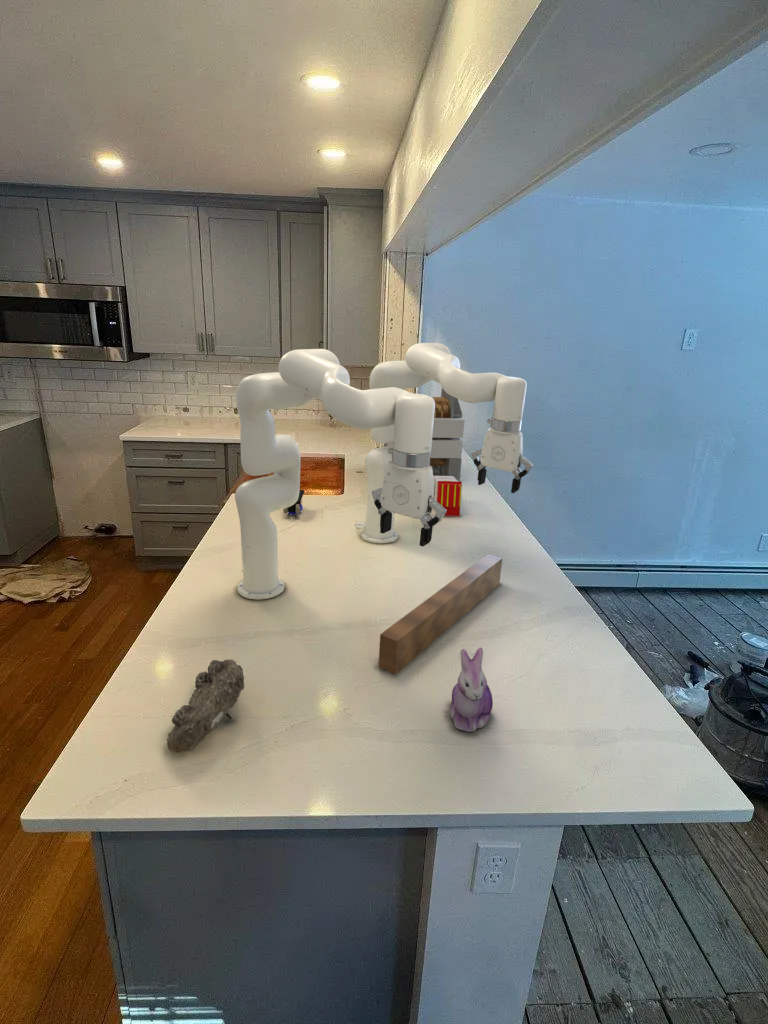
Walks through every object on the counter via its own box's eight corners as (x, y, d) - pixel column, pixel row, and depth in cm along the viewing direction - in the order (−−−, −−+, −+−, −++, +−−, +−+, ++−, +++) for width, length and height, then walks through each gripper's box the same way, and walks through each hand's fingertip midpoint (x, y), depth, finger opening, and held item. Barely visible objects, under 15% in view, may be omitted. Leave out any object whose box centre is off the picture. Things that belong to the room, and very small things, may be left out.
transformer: (382, 463, 289) (386, 382, 275) (445, 464, 293) (451, 384, 279) (390, 482, 257) (394, 392, 243) (460, 483, 261) (468, 394, 247)
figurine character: (300, 523, 209) (305, 505, 222) (300, 504, 206) (305, 487, 219) (282, 522, 209) (288, 504, 222) (281, 504, 205) (287, 487, 219)
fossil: (192, 660, 117) (244, 628, 112) (224, 691, 120) (276, 661, 115) (142, 746, 98) (202, 712, 93) (182, 779, 101) (242, 748, 96)
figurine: (465, 741, 105) (473, 672, 100) (436, 707, 113) (441, 643, 108) (506, 726, 109) (515, 660, 104) (474, 695, 117) (481, 632, 112)
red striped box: (454, 471, 244) (466, 482, 214) (452, 502, 246) (464, 517, 217) (426, 471, 243) (434, 481, 214) (424, 501, 246) (432, 516, 217)
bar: (485, 579, 169) (488, 553, 166) (499, 584, 166) (502, 557, 163) (378, 667, 125) (380, 634, 123) (395, 674, 123) (397, 641, 120)
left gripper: (364, 453, 113) (360, 532, 119) (440, 471, 104) (431, 555, 110) (385, 446, 119) (381, 522, 125) (459, 463, 110) (450, 544, 116)
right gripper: (469, 422, 149) (462, 483, 156) (532, 433, 141) (522, 498, 147) (482, 418, 155) (475, 478, 161) (543, 429, 146) (533, 492, 152)
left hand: (404, 537), depth 118 cm, fingers open, 9 cm apart
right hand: (497, 487), depth 154 cm, fingers open, 9 cm apart
